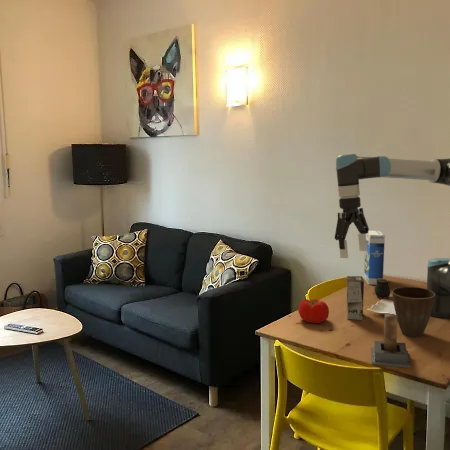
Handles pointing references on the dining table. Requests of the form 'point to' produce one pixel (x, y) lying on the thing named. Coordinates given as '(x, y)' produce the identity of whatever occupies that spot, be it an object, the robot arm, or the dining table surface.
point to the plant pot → (413, 309)
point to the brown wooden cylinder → (390, 332)
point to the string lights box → (374, 257)
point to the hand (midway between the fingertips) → (354, 254)
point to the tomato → (313, 310)
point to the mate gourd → (382, 288)
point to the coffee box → (355, 297)
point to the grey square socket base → (390, 355)
